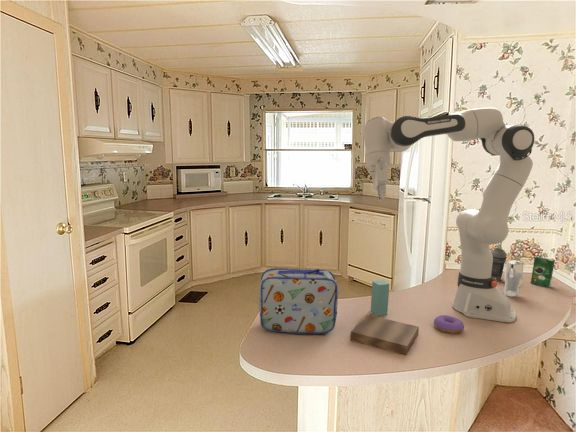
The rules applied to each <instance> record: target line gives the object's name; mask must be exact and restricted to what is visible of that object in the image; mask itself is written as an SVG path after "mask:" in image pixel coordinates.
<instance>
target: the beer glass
mask: <svg viewBox="0 0 576 432" xmlns="http://www.w3.org/2000/svg"><path fill="white" fill-rule="evenodd" d="M503 272H504V275H503V276H504V288H503V291H502V293H503V294H504V295H506V296H507V297H509V298H514V299H516V298H519V294H520V293H519V288H520V285H521V282H522V279H523V275H524V274H523V273H524V262H523V261H521V260H516V259H506V261H505V264H504V269H503Z"/></svg>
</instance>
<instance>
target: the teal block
mask: <svg viewBox="0 0 576 432" xmlns="http://www.w3.org/2000/svg"><path fill="white" fill-rule="evenodd" d="M371 281H372V280H371ZM371 285H372V286H371V297H370V298H371V300H370V312H371V313H372V314H374V315H375V316H376V317H379V316H384V315H388V311H389V310H388V309H389V308H388V307H389V295H390V283H389V282H386V281H385V280H383V279H381V280H380V279H379V280H373V281H372V283H371Z"/></svg>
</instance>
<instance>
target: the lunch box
mask: <svg viewBox="0 0 576 432" xmlns="http://www.w3.org/2000/svg"><path fill="white" fill-rule="evenodd" d="M338 286H339V285H338V282H337V281H336V278H335V275H334V274H333V273H332V272H331V271H329V270H324V269H320V268H316V269H299V268H298V269H297V268H281V267H279V268H277V267H276V268H269V269H266V270H264V272H263V273H262V274H261V276H260V283H259V291H258V292H259V293H258V294H259V295H258V308H259V309H258V310H259V317H260V318H259V321H260V326H261V327H262V328H263V329H264V330H265V331H269V332H270V331H271V332H279V333H287V334H290V333H291V334H320V335H321V334H327V333H331V332H332V331H333V330H334V329H335V326H336V323H337V322H336V321H337V315H338V304H339V302H338V300H339V299H338V298H339V295H340V291H339V288H338Z"/></svg>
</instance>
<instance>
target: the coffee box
mask: <svg viewBox="0 0 576 432" xmlns="http://www.w3.org/2000/svg"><path fill="white" fill-rule="evenodd" d="M555 261H556V260H555V259H552V258H551V259H550V258H546V257H540V256H535V257H534V261H533V266H532V272H531V279H530V280H531V281H530V284H533V285H538V286H540V287H541V286H542V287H545V288H550V287H551V285H552V280H553V273H554V268H555Z"/></svg>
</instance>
